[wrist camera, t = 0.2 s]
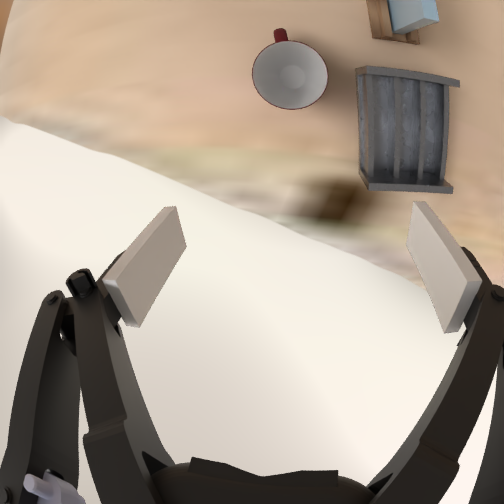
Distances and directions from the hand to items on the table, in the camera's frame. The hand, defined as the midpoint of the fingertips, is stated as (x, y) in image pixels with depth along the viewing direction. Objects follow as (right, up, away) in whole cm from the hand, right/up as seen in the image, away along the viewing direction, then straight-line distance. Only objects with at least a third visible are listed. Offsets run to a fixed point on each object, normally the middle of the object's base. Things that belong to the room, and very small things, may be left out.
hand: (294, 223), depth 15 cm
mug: (+3, +24, +18) cm, 29 cm away
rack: (+19, +17, +19) cm, 32 cm away
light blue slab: (+17, +33, +7) cm, 38 cm away
